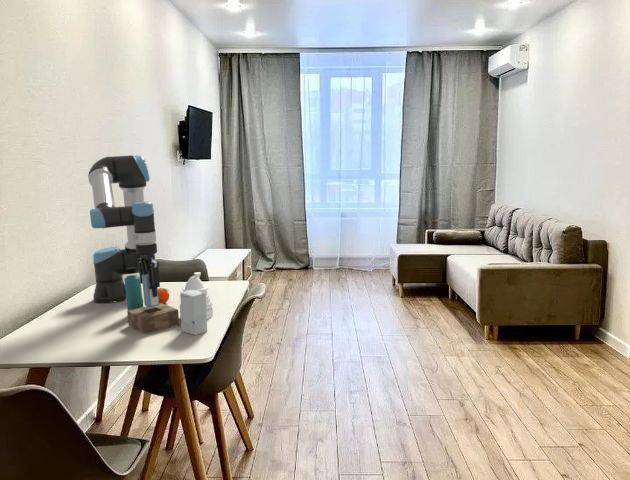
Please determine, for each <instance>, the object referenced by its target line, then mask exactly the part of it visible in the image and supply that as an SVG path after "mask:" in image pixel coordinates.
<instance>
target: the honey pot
mask: <svg viewBox="0 0 630 480" xmlns="http://www.w3.org/2000/svg"><path fill="white" fill-rule="evenodd" d="M201 273H202V272H200V271H199V272H194V273H193V274H194V275H192V276H190V277H189V278H188V280H187V282H186V283H185V286H184V287H183V288H182V292H184V291H188V290H195V291H200V292H203V293H206V313H207V320H209V319H211V318H213V317H214V309H213V308H214V306H213V301H212V300H211V297H210V293H208V289H209V286H208V285H205V284H204V283H203V281H202V280H201V279H200V277H201V275H202V274H201ZM179 315H180V316H179V318H181V303H180V304H179Z"/></svg>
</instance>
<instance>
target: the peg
mask: <svg viewBox="0 0 630 480" xmlns="http://www.w3.org/2000/svg"><path fill="white" fill-rule="evenodd" d="M141 285H142V295H143V305H144V307H146V306H147V307H153V306H158V305H159V297H158V304H157V305H153V306H151V301H150V290H149V288H150V283H149V276H148V274H143V275H142V284H141ZM158 289H159V287H158V288H157V294H158Z"/></svg>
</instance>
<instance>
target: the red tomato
mask: <svg viewBox="0 0 630 480" xmlns="http://www.w3.org/2000/svg"><path fill="white" fill-rule="evenodd" d="M169 292H170V293H171V291H170V290H169V289H168V288H165V287H158V297H159V303H162V304H166V303H167V302H168V301H169V299H170V293H169Z"/></svg>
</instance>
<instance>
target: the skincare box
mask: <svg viewBox="0 0 630 480" xmlns="http://www.w3.org/2000/svg"><path fill="white" fill-rule="evenodd" d="M179 296H180V304H181V317H180V320H181V322H180V323H181V332H183V333H186V334H191V335H193V336H197V335H200V334H203V333H206V332H208V322H207V321H208V319H207V313H206V293H203V292H200V291H195V290H188V291H184V292H183V291H181V292H180V295H179Z"/></svg>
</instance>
